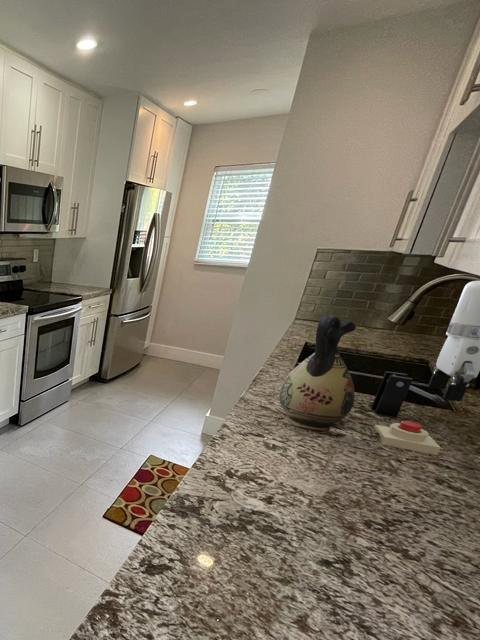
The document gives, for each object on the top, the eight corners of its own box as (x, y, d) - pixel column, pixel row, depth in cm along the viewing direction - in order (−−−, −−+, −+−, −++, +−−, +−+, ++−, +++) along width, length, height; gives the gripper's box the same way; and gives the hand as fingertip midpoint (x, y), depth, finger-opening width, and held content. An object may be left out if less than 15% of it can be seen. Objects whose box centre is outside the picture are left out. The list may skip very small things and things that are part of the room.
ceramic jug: (291, 408, 122) (324, 308, 112) (354, 430, 109) (398, 319, 98) (256, 417, 116) (287, 312, 105) (318, 442, 103) (361, 325, 92)
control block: (424, 441, 104) (430, 427, 102) (437, 455, 97) (444, 440, 96) (372, 431, 109) (377, 418, 107) (381, 444, 102) (387, 430, 101)
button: (416, 429, 102) (418, 422, 102) (421, 434, 99) (424, 428, 99) (396, 425, 104) (399, 419, 103) (401, 431, 101) (404, 424, 100)
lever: (433, 401, 113) (441, 394, 112) (441, 408, 108) (449, 401, 107) (384, 379, 117) (391, 372, 115) (390, 385, 112) (397, 378, 111)
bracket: (403, 415, 119) (422, 374, 114) (416, 428, 111) (436, 384, 106) (350, 406, 124) (365, 366, 120) (358, 418, 116) (375, 376, 112)
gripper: (511, 340, 95) (480, 407, 101) (474, 326, 109) (449, 386, 114) (464, 336, 98) (437, 402, 104) (435, 323, 112) (412, 382, 118)
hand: (443, 393), depth 109 cm, fingers open, 9 cm apart
